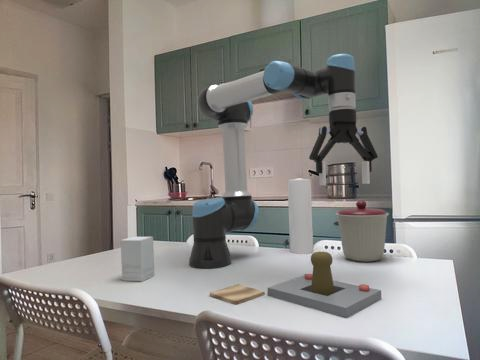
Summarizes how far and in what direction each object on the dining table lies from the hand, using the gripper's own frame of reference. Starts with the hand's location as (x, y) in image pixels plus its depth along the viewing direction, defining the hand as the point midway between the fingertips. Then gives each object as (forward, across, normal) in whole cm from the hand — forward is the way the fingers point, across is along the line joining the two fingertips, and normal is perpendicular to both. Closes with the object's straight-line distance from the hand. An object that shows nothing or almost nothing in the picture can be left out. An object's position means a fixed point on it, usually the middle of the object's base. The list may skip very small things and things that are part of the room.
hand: (344, 184), depth 100 cm
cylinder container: (+28, +4, +44) cm, 52 cm away
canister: (+28, +19, +23) cm, 40 cm away
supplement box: (+28, -59, +23) cm, 69 cm away
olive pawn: (+27, -13, -11) cm, 32 cm away
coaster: (+27, -33, -3) cm, 43 cm away
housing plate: (+27, -13, -11) cm, 32 cm away
